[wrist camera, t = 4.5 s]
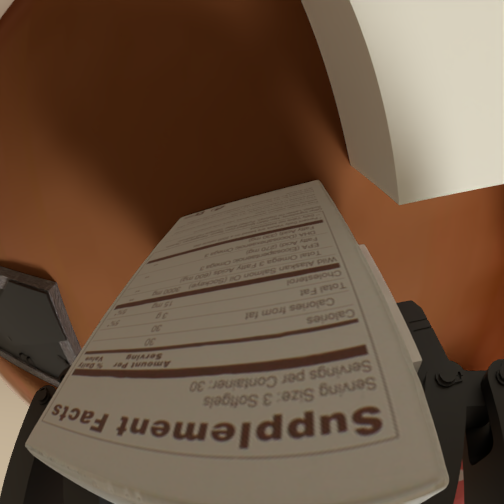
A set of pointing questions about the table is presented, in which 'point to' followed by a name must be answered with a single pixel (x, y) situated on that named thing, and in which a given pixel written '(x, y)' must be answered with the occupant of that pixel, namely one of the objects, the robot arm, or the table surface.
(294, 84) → the table surface
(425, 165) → the plinth
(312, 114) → the table surface
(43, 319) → the picture frame
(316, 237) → the supplement box
